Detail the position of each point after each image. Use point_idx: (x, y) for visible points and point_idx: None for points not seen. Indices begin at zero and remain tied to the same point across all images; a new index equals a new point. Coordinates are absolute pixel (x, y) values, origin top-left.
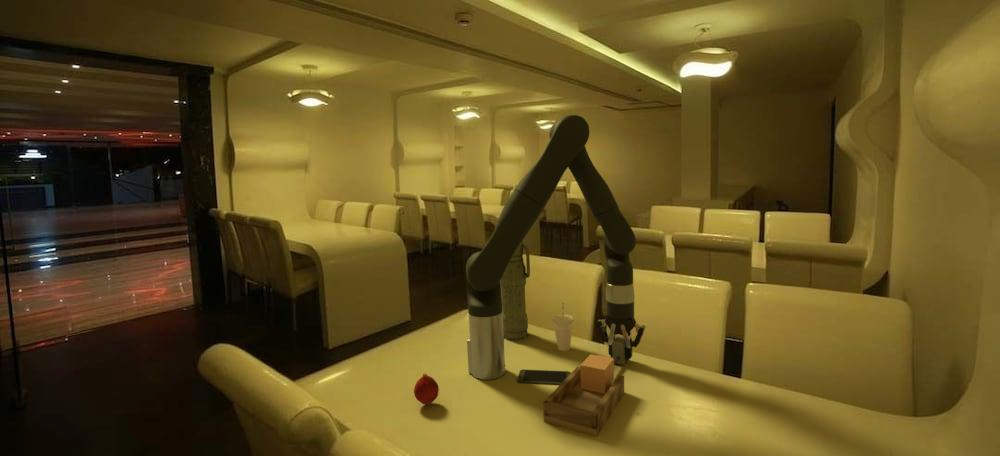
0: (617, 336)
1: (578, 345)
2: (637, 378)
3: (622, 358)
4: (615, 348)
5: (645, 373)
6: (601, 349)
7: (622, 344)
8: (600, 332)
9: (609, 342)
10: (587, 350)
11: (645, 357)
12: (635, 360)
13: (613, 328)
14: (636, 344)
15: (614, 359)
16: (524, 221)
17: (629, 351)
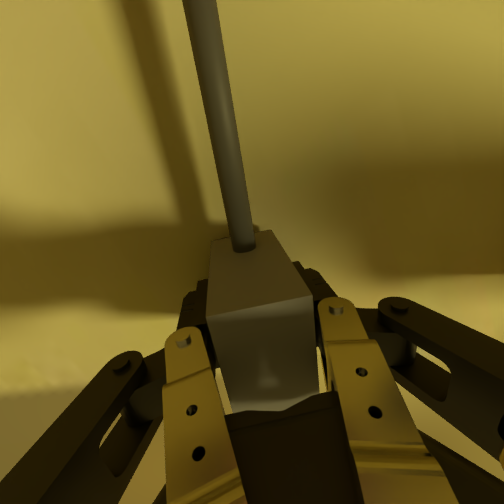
0: None
1: (477, 309)
2: (58, 143)
3: (214, 254)
4: (268, 272)
5: (70, 232)
6: None
7: (210, 310)
8: (487, 347)
9: (340, 305)
10: (428, 290)
11: None
12: None
13: (385, 463)
14: (104, 374)
15: (237, 191)
16: None
17: (189, 319)
